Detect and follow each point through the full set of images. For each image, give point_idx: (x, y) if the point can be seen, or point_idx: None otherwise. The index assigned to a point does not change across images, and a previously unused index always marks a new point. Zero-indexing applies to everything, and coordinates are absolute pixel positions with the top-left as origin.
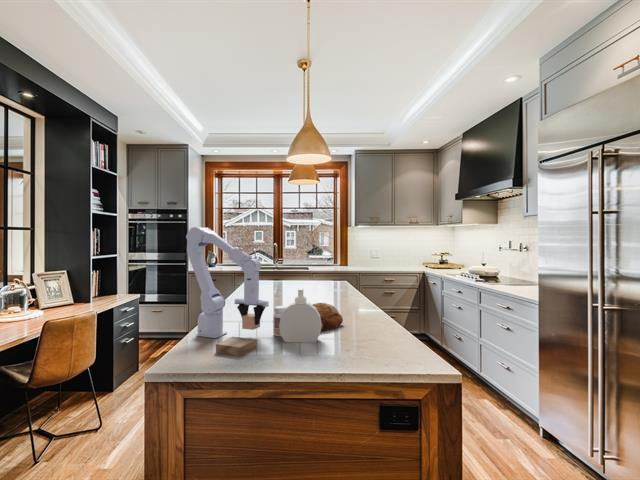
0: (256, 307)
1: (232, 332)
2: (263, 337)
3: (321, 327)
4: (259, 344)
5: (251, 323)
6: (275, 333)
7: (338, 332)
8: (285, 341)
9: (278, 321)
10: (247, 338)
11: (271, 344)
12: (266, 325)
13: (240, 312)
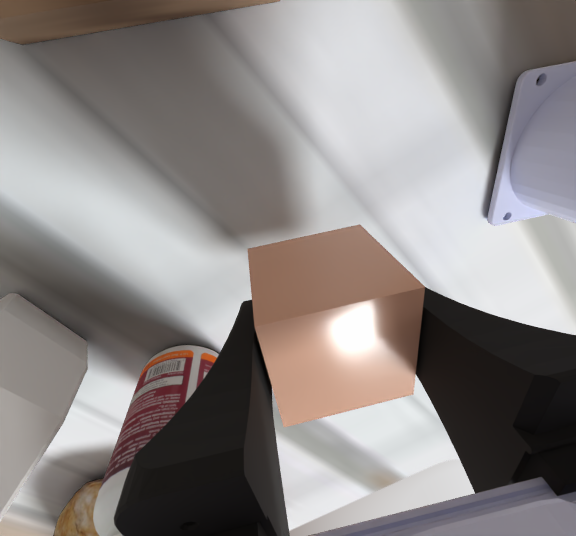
0: (188, 503)
1: (465, 257)
2: (229, 289)
3: (62, 511)
4: (106, 152)
5: (272, 273)
6: (188, 353)
7: (8, 513)
8: (6, 295)
9: (141, 435)
10: (82, 1)
11: (36, 205)
12: (367, 417)
13: (490, 319)
